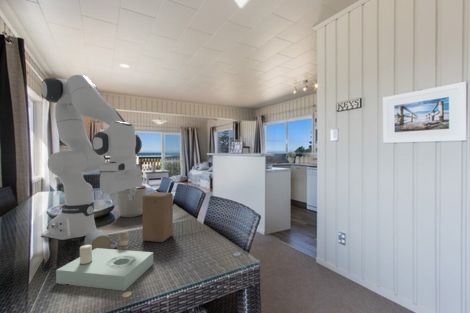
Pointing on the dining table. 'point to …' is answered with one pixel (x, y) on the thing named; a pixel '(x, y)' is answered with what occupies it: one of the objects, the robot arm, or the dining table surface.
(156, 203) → the wooden block
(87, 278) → the board
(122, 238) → the peg
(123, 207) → the canister
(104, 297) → the dining table surface
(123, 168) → the robot arm
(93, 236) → the ceramic mug
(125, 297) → the dining table surface
